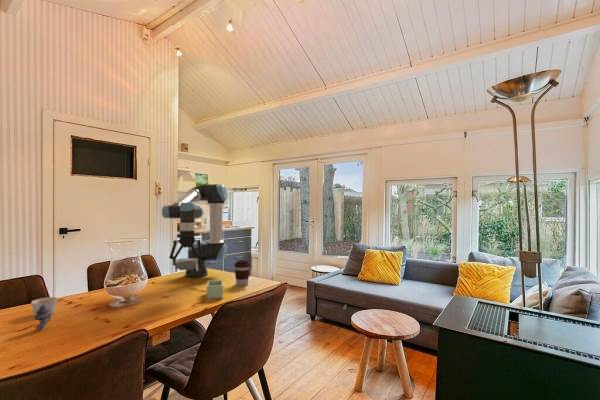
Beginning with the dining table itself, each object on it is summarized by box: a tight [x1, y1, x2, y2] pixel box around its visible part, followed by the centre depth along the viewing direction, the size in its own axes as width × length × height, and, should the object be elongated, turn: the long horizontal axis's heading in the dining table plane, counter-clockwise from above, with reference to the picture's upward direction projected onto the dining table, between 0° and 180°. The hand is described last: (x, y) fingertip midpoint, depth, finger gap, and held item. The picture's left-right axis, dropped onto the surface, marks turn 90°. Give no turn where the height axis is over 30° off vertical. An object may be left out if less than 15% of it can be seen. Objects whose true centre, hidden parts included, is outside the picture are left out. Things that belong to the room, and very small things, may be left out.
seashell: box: [34, 304, 53, 331], centre depth 119 cm, size 5×5×10 cm
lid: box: [174, 257, 197, 271], centre depth 161 cm, size 13×10×4 cm
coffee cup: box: [233, 259, 251, 287], centre depth 186 cm, size 10×10×15 cm
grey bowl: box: [31, 296, 58, 317], centre depth 135 cm, size 9×9×6 cm
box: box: [206, 279, 224, 301], centre depth 164 cm, size 12×8×7 cm
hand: (186, 271), depth 161 cm, fingers closed on lid, 10 cm apart
